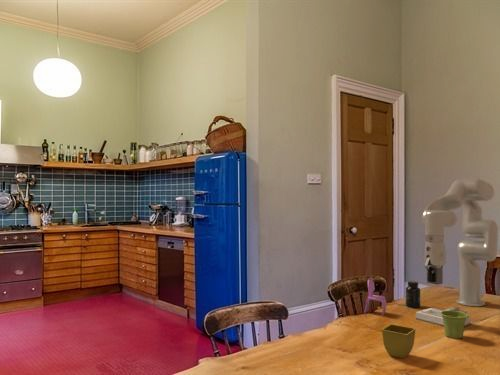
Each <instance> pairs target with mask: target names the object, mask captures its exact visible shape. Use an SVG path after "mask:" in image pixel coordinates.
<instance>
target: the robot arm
mask: <svg viewBox="0 0 500 375" xmlns="http://www.w3.org/2000/svg"><path fill="white" fill-rule="evenodd" d="M494 195H495V190H494V187H493V185H492V184H491V183H489V182H488V181H486V180H483V179H480V178H461V179H457V180H455V181H453V183H452V184H451V185H450V187H449V189H448V190H447V192H446V193H445V195H442V196H441V197H439V198H436V199H434V200H433V201H431V202H430V203H429V204H428V205H427V206H426V208H425V209H424V210H423V213H422V215H421V220H422V223H423V225H424V226H425V227H424V229H425V230H424V231H425V232H424V233H425V235H424V236H425V238H424V240H425V246H424V257H423V258H424V268H425V269H426V273H427V272H428V281H429V282H435V273H434V272H435V266H441V267H444V265H446V263H447V254H446V247H445V246H446V244H445V236H444V235H445V228H452V227H453V226H455V225H456V223H457V220H458V219H457V215H456V213H455V212H453V211H455V210H458V209H459V208H461V207H462V211H463V213H462V226H461V227H462V228H461V230H462V235H463V236H464V237H466V238H471V240H470V239H464V240H460V242H459V241H458V244H457V248H456V250H457V255H458V260H459V262H458V263H459V298H457V299H456V303H457V304H459V305H463V306H467V307H484V306H485V305H486V303H485V301H483V300H482V298H485V295H484V294H483V293H482V268H481V265H479V263H478V261H481V262H493V261H495V260H496V258H497V255H498V241H499V227H498V223H497V222H496V220H493V219H483V209H482V207H481V205H480V204H479V203H478V201H479V202H482V201H484V202H487V201H490V200H492V199H493V197H494ZM473 239H484V240H485V241H484V240H473ZM431 264H432V265H431ZM431 267H432V268H431Z"/></svg>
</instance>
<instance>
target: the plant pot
mask: <svg viewBox="0 0 500 375" xmlns="http://www.w3.org/2000/svg"><path fill="white" fill-rule="evenodd" d="M441 315H442V318H443V323H444V326H443V328H444V335H445V336H446V337H449V338H451V339H457V340H458V339H459V340H460V339H463V336H464V330H465V326H464V325H465V321H466V318H467V316H468V313H467V314H465V313H462V312H458V311H442V312H441Z"/></svg>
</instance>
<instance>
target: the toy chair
mask: <svg viewBox="0 0 500 375" xmlns="http://www.w3.org/2000/svg"><path fill="white" fill-rule="evenodd" d="M375 289H376V288H375V282H374V281H373V280H372V279H367V291H368V297H367V298H366V300H365V301H366V302H365V308H364V312H363V314H365V313H366V312H368V311H369V309H370V302H371V301H377V302H381V305H382V310H381V311H382V312H381V315H382V316H383V315H384V314H386V311H387V299H386V296H385V295H375V294H374V293H373V292H374V291H375Z"/></svg>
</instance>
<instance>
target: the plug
mask: <svg viewBox="0 0 500 375" xmlns="http://www.w3.org/2000/svg"><path fill="white" fill-rule="evenodd" d="M431 265H432V264H431ZM443 267H444V266H443ZM443 267H441V266H435V272H434V273H435V282H429V281H428V272H427V271H426V284H432V285H437V286H438V285H443V278H444V277H443V275H444V274H443ZM431 268H432V267H431Z"/></svg>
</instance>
